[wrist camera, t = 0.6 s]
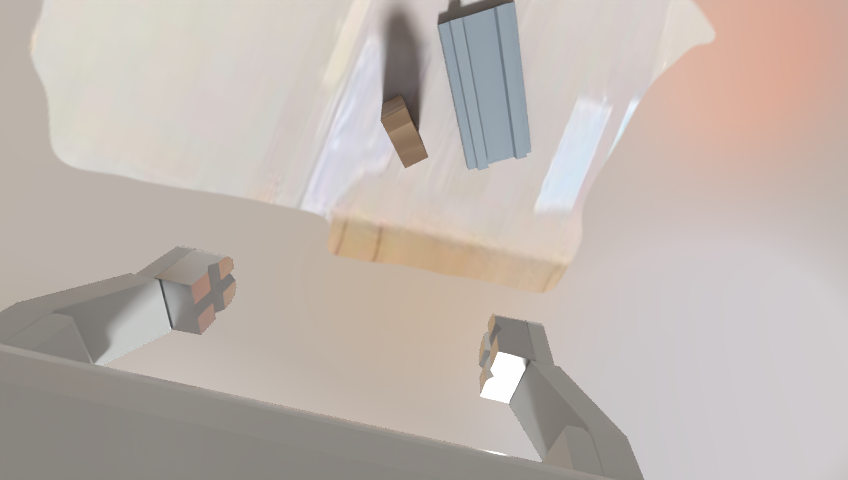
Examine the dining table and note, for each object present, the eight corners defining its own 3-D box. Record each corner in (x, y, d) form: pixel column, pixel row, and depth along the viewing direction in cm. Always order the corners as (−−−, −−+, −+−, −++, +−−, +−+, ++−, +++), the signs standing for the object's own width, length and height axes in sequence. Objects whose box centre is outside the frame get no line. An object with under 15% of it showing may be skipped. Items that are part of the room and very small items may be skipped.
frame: (382, 103, 50) (380, 120, 38) (400, 93, 49) (405, 107, 37) (401, 141, 53) (405, 168, 40) (418, 132, 52) (428, 157, 40)
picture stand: (437, 25, 46) (440, 23, 43) (510, 3, 45) (518, -1, 43) (467, 166, 56) (470, 172, 53) (527, 149, 55) (534, 154, 52)
